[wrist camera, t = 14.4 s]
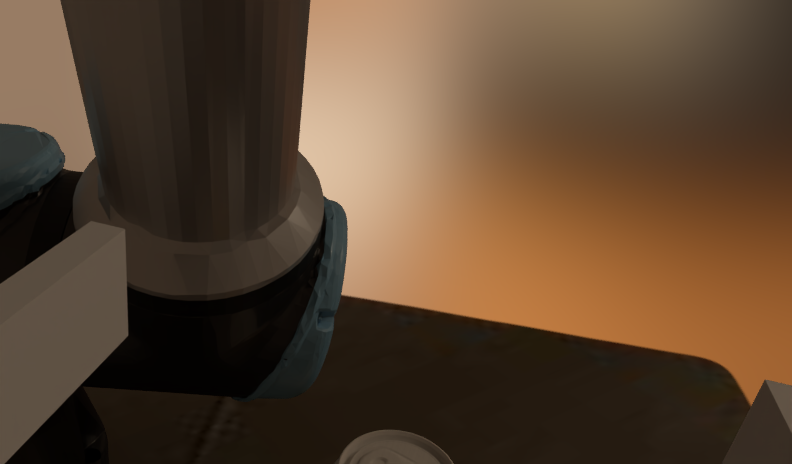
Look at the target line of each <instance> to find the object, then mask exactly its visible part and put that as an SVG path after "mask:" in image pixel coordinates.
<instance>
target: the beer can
mask: <svg viewBox="0 0 792 464" xmlns="http://www.w3.org/2000/svg"><path fill="white" fill-rule="evenodd" d="M334 464H453V462H452V461H451V459H450V458H449V457H448V455H447V454H446V453H445V452H444V451H443V450H442V449H441V448H439V447H438V446H437V445H435V444H434V443H432V442H431V441H429V440H427V439H425V438H423V437H421V436H418V435H416V434H413V433H409V432H405V431H398V430H380V431H374V432H370V433H367V434H364V435H362V436H360V437H358V438H356V439H355V440H353V441H352V442H351V443H350V444H349V445H348V446H347V447H346V448H345V449H344V450H343V452H342V454H341V456H340V458H339V459H338V460H337V461H336V462H335V463H334Z"/></svg>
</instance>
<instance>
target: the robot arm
mask: <svg viewBox="0 0 792 464" xmlns="http://www.w3.org/2000/svg"><path fill="white" fill-rule="evenodd" d="M61 5H62V9H63V13H64V18H65V22H66V27H67V31H68V35H69V40H70V44H71V48H72V53H73V58H74V62H75V66H76V71H77V75H78V80H79V84H80V88H81V93H82V97H83V102H84V106H85V111H86V115H87V119H88V124H89V128H90V133H91V137H92V142H93V146H94V150H95V155H96V157H95V158H94V159H93V160H92V161H91V162H90V163H89V165H88V166H87V168H86V169H85V171H84V172H76V171H69V170H66V169H63V167H64V163H65V155H64V153H63V152H62V151H61V149H60V147H59V145H58V143H57V141H56V140H55V139H54V137H52V136H51V135H49V134H47V133H45V132H39V131H37V130H36V129H34V128H31V127H26V126H20V125H9V124H0V464H109V459H108V441H107V435H106V432H105V428H104V425H103V423H102V421H101V419H100V417H99V415H98V414H97V412H96V410H95V408H94V406H93V404H92V403H91V401H90V399H89V397H88V395H87V393H86V392H85V390H84V388H83V386H85V387H100V388H114V389H128V390H142V391H156V392H170V393H185V394H199V395H213V396H227V397H232V398H233V399H234V400H238V401H243V402H248V401H251V400H254V399H256V398H275V399H288V398H292V397H296V396H298V395H300V394H302V393H304V392H305V391H306V390H307V389H308V388H309V387H310V386H311V385H312V384H313V383H314V381H315V379H316V378H317V376H318V374H319V372H320V370H321V368H322V365H323V363H324V360H325V357H326V354H327V351H328V348H329V345H330V341H331V337H332V333H333V329H334V315H335V313H336V311H337V308H338V304H339V301H340V297H341V292H342V285H343V279H344V272H345V264H346V254H347V229H348V228H347V218H346V214H345V211H344V209H343V208H342V206H341V205H340V204H338V203H337V202H335V201H332V200H328V199H327V198H326V197H324V196H323V193H322V188H321V185H320V181H319V179H318V177H317V175H316V173H315V171H314V169H313V167H312V166H311V165H310V163H309V162H308V161H307V159H306V158H305V157H304V156H303V155H302V154H301V153H300V152H299V151H298V145H299V132H300V120H301V107H302V95H303V83H304V71H305V59H306V47H307V35H308V22H309V9H310V0H61ZM722 464H792V386H791V385H786V384H782V383H778V382H774V381H769V380H765V381H764V383H763V385H762V386H761V389H760V390H759V392H758V394H757V396H756V398H755V400H754V402H753V404H752V406H751V408H750V410H749V412H748V414H747V416H746V418H745V420H744V422H743V424H742V425H741V427H740V429H739V431H738V433H737V435H736V437H735V439H734V441H733V443H732V445H731V447H730V449H729V451H728V453H727V455H726V457H725V459H724V461H723V463H722Z"/></svg>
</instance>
